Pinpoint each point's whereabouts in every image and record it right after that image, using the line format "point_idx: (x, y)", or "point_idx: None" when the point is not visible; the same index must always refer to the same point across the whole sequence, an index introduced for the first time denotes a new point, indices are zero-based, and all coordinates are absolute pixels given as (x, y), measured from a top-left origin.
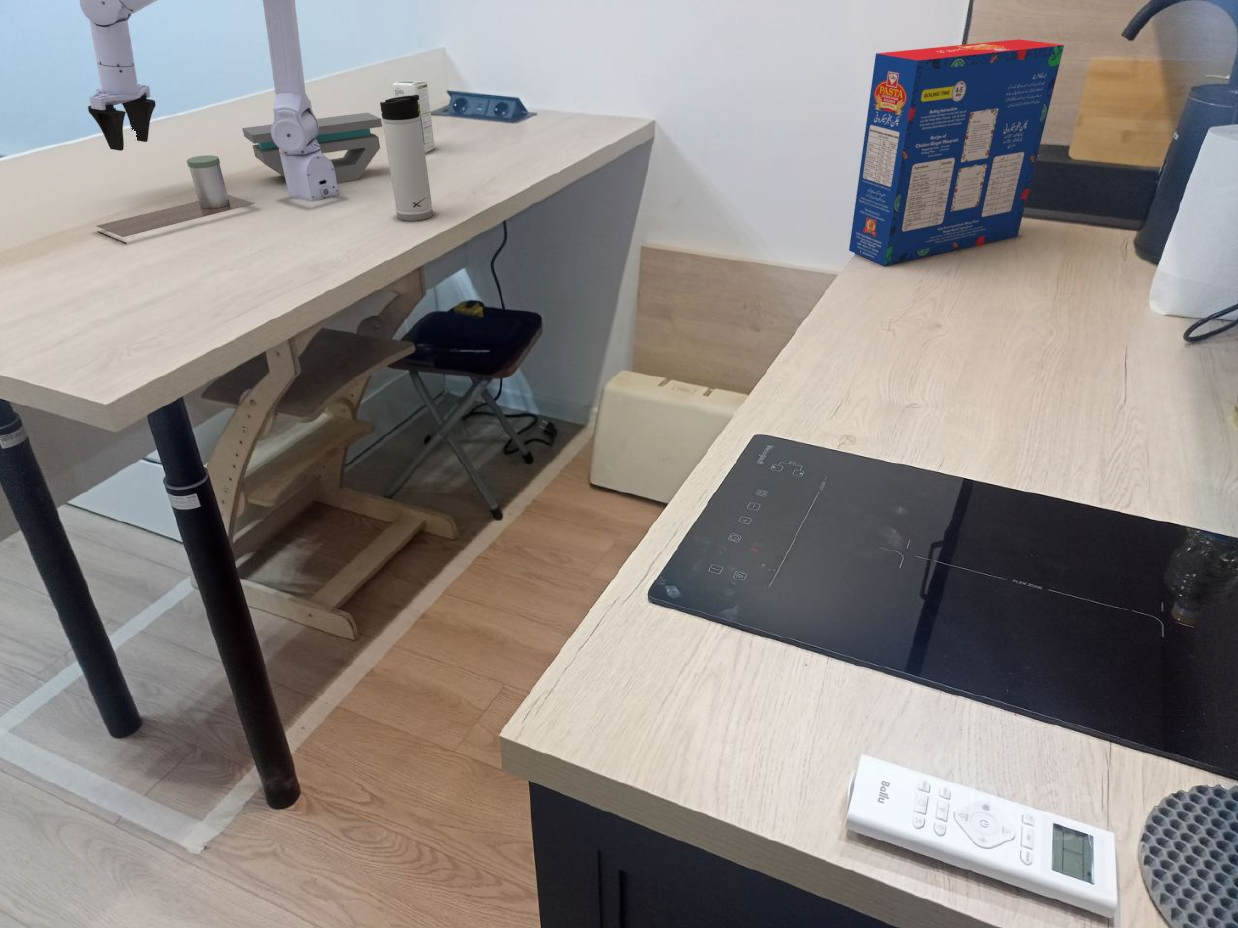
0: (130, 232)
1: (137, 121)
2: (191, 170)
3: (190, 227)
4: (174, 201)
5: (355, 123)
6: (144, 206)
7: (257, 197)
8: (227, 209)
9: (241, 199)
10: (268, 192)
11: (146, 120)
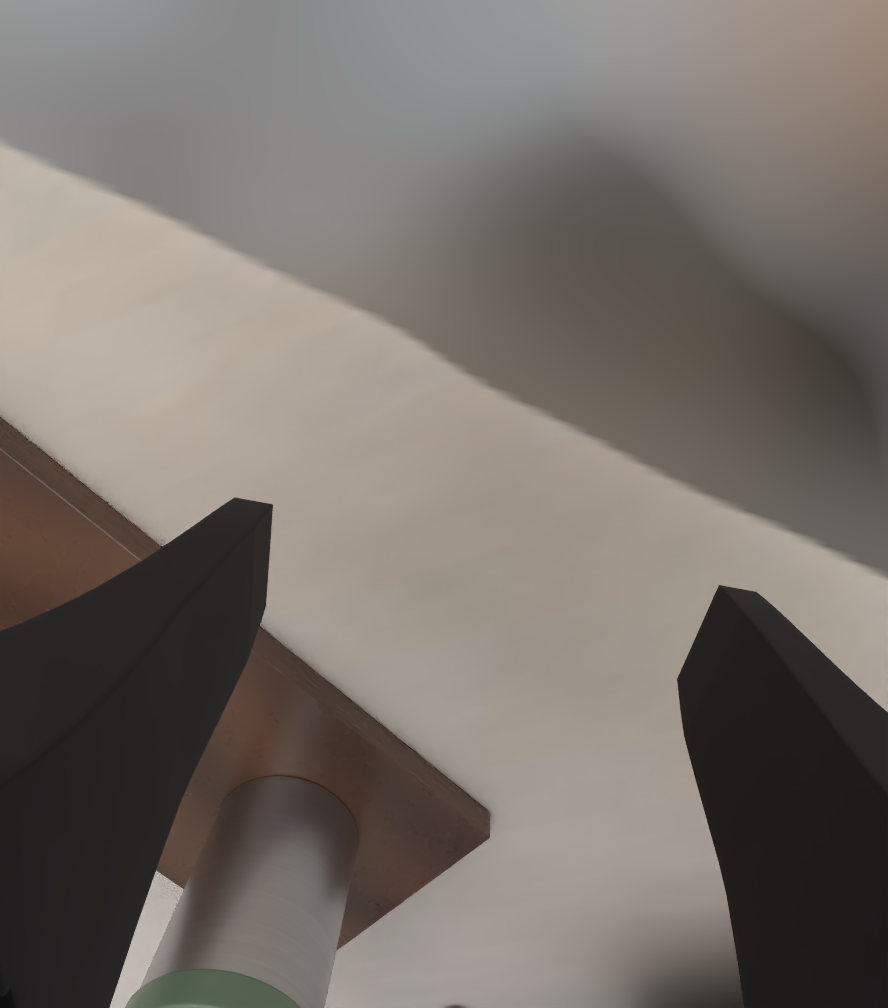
0: None
1: (781, 813)
2: (154, 970)
3: None
4: (532, 556)
5: None
6: (444, 412)
7: (533, 916)
8: None
9: (376, 917)
10: (619, 943)
11: (734, 930)
